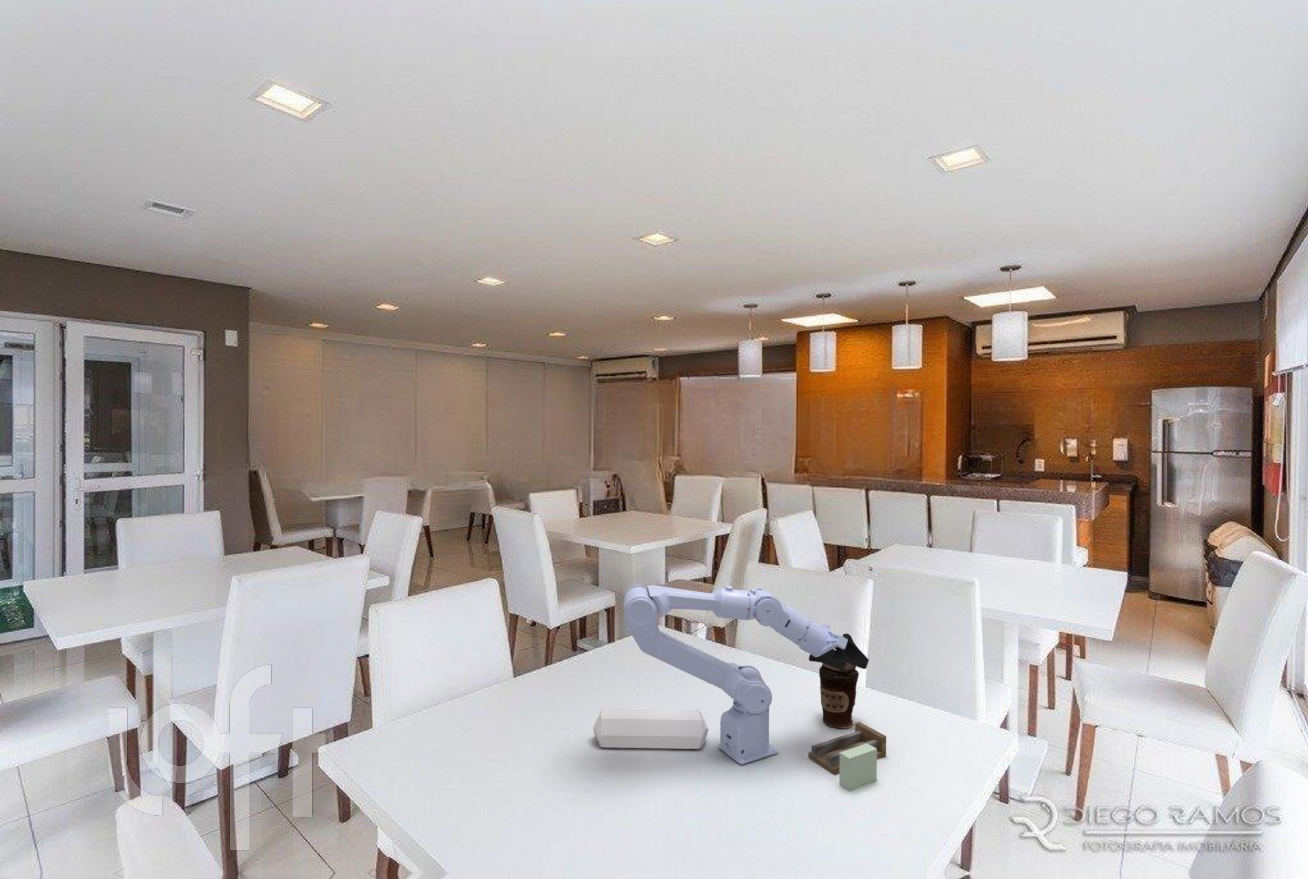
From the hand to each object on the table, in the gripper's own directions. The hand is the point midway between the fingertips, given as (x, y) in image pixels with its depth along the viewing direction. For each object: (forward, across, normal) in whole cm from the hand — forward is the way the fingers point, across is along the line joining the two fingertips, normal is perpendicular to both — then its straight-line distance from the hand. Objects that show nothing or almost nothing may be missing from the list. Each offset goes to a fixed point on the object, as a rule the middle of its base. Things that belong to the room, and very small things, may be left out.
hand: (855, 664), depth 132 cm
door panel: (+5, -5, +21) cm, 22 cm away
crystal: (-26, +20, +31) cm, 45 cm away
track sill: (+6, +3, +16) cm, 18 cm away
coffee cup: (+9, +15, +8) cm, 20 cm away
